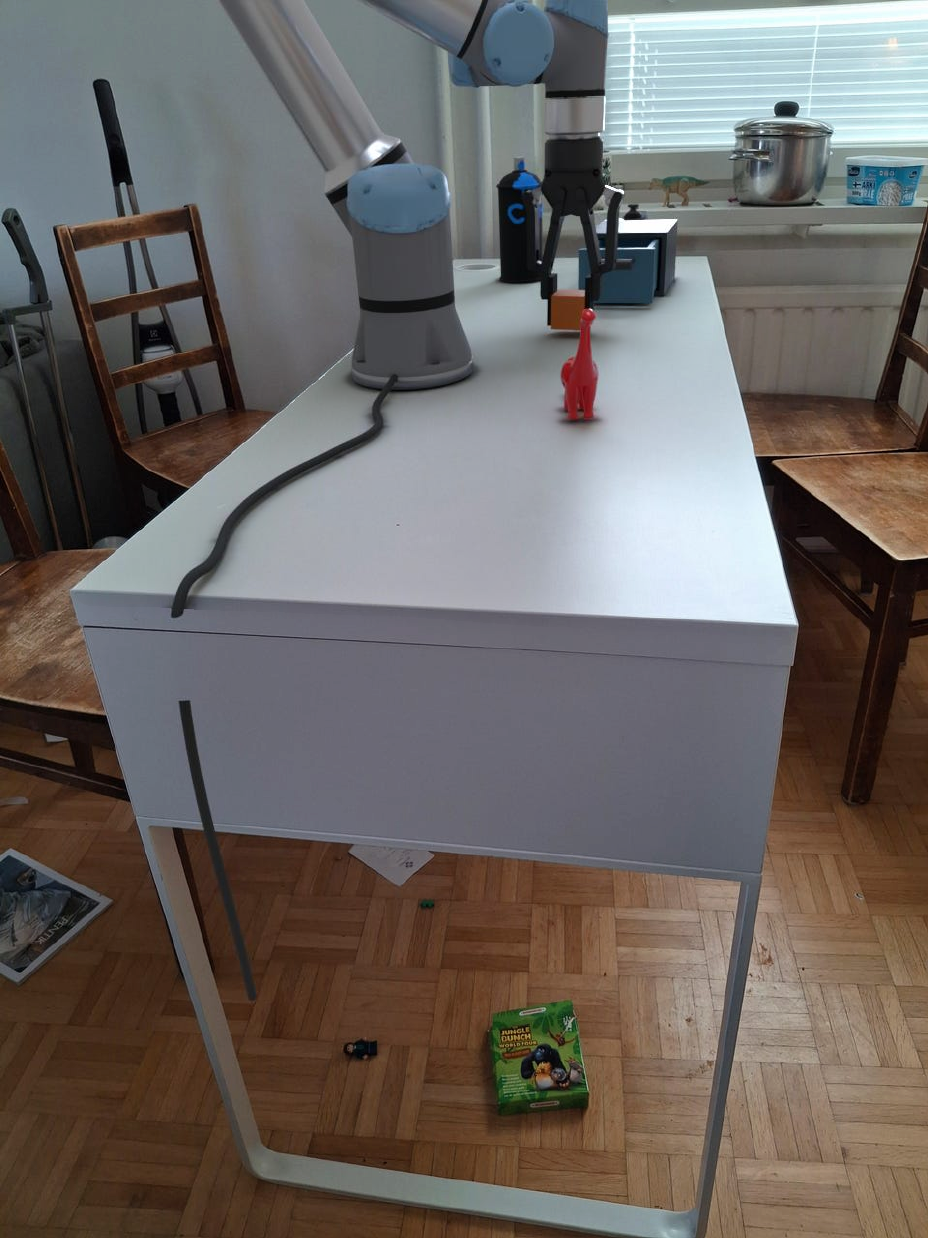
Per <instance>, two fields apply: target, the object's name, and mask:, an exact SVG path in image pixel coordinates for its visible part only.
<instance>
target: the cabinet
mask: <svg viewBox="0 0 928 1238" xmlns="http://www.w3.org/2000/svg"><path fill="white" fill-rule="evenodd" d="M678 221H679V219H676V218H675V219H647V220H620V221H619V227H618V238H661V253H660V274H659V285H658V286H657V288H656V289H655V291H654V296H653V297H665V295H666V293H667V292H668V290H669V289H670V287H671V285H672V284H673V282H674V280H675V278H676V277H675V275H676V258H677V239H678V223H679V222H678ZM601 222H602V223H601ZM601 222H600V223H599V224H598V225H596V226H595V227H596V232H597V238H598V239H599V238H606V226H607V221H604V220H603V221H601Z"/></svg>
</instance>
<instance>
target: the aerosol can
mask: <svg viewBox="0 0 928 1238" xmlns="http://www.w3.org/2000/svg"><path fill="white" fill-rule="evenodd" d="M541 183H542V181H541V179H540V177H539V176H538V175H537V174H535V173H533V172H531V171H528V170H527V169H526V156H514V157H513V170H512V172H508V173H507V174H506V175H504V176H503V177H502V178H501V179H500V180H499V183H497V184H496V186H495V187H496V188H497V200H498V201H497V202H498V230H499V232H498V233H499V234H498V235H499V262H500V263H499V265H500V266H499V267H500V277H499V281H500V282H502V283H505V284H506V283H507V284H530V283H536V282H539V281H540V279H541V278H540V275H539V273H537V272H535V271H533V270H532V271H531V270H529V269H528V268H527V231H526V209H525V206H524V203H523V200H522V194H523V193H524V192H526V191H529V190H534V189H536V188H539V187H541ZM543 225H544V224H543V196H542V197H541V204H540V205H539V241H540V261H541V262H542V258H543V254H544V241H543V239H544V238H543V234H544V233H543V231H544V229H543V228H544V227H543Z"/></svg>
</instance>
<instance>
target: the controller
mask: <svg viewBox="0 0 928 1238" xmlns="http://www.w3.org/2000/svg"><path fill="white" fill-rule="evenodd" d="M639 207H640V204H639V203H629V204H628V205H627V208H629V210H628V211H627V212H626V213H625V214H624V215H623V216H622V217H621V218H622V219H624V220H649V219H648V213H647V211H646V210H637V208H639Z"/></svg>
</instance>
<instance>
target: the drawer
mask: <svg viewBox="0 0 928 1238" xmlns="http://www.w3.org/2000/svg"><path fill="white" fill-rule="evenodd" d="M598 244H599V249H600V255H601V260H602V263H604V262H605V245H606V238H599V239H598ZM660 253H661V238H618V244H617V262H616V267H615V268H614V269H613V270H612V271H611V272H607V273H604V274H603V275H602V290H601V297H600V299H599V300H598V301H594V304H653V302H654V297H655V296H654V291H655V289H656V288H657V286H658V285H659V274H660ZM589 274H591V271H590V265H589V260H588V254H587V249H586V247H585V248H584V247H583V248H579V249H578V282H577V283H578V289H577V290H585V277H586V276H587V275H589Z"/></svg>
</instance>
